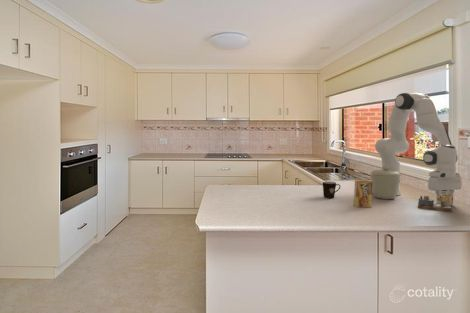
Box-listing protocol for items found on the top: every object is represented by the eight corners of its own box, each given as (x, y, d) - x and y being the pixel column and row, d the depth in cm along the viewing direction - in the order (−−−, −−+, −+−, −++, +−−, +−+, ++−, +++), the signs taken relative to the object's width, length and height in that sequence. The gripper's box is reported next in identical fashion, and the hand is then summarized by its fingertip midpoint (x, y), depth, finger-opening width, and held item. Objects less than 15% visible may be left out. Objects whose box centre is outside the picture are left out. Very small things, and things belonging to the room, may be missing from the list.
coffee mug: (322, 198, 196) (322, 183, 195) (321, 195, 204) (322, 181, 204) (341, 199, 193) (341, 184, 192) (339, 196, 202) (340, 181, 201)
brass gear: (436, 201, 170) (437, 195, 170) (436, 198, 177) (436, 193, 176) (452, 202, 167) (453, 197, 166) (451, 200, 173) (451, 195, 173)
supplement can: (449, 203, 186) (451, 179, 185) (455, 206, 178) (457, 181, 177) (434, 202, 189) (436, 178, 187) (439, 205, 181) (441, 180, 179)
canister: (392, 195, 208) (394, 164, 206) (404, 201, 190) (406, 168, 188) (365, 194, 210) (367, 164, 208) (375, 200, 192) (376, 167, 190)
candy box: (368, 205, 178) (370, 180, 177) (371, 207, 174) (372, 181, 173) (353, 205, 179) (354, 179, 177) (355, 207, 174) (357, 180, 173)
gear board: (418, 207, 174) (418, 196, 174) (418, 204, 183) (418, 193, 182) (452, 212, 166) (453, 200, 165) (450, 208, 175) (451, 197, 174)
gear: (418, 204, 175) (419, 196, 175) (418, 202, 181) (418, 194, 181) (433, 206, 171) (434, 198, 171) (433, 203, 178) (433, 196, 177)
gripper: (455, 172, 176) (453, 195, 177) (426, 173, 171) (425, 197, 172) (465, 173, 170) (464, 197, 171) (436, 174, 165) (435, 199, 166)
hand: (444, 197), depth 172 cm, fingers closed on brass gear, 6 cm apart
